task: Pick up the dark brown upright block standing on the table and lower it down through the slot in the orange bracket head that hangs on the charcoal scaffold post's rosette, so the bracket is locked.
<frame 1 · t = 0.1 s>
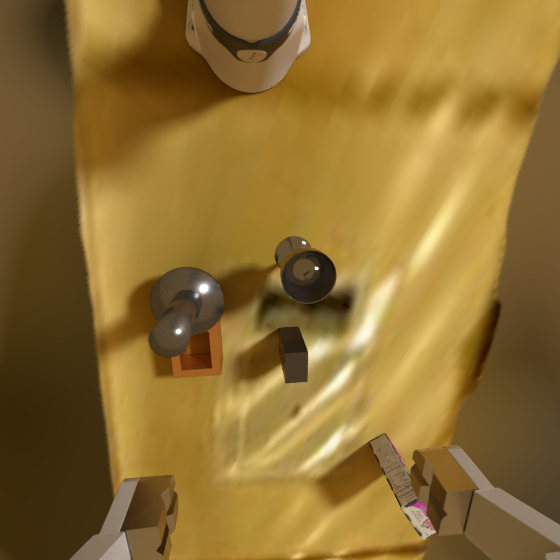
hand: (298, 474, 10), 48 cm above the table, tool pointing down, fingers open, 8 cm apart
candy bar box: (385, 450, 75), on the table
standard: (194, 289, 57), on the table
dark brown upright block: (288, 340, 63), on the table
wine glass: (293, 254, 58), on the table
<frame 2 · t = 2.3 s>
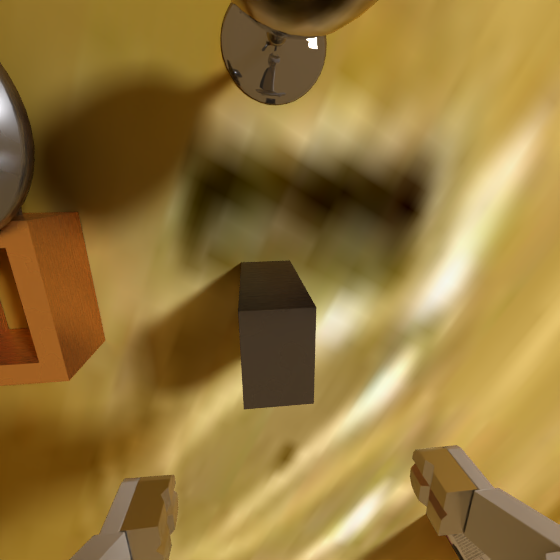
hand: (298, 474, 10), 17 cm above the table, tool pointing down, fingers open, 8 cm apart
candy bar box: (462, 523, 38), on the table
dark brown upright block: (266, 295, 26), on the table
wine glass: (274, 46, 21), on the table
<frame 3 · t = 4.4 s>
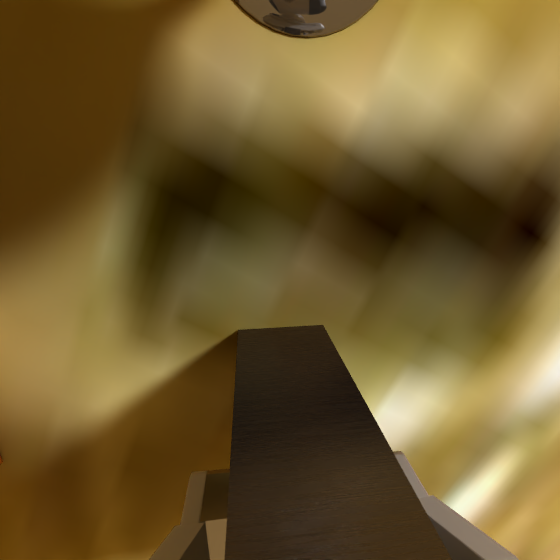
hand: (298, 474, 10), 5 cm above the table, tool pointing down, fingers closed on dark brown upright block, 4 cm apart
dark brown upright block: (281, 382, 15), on the table, touching gripper
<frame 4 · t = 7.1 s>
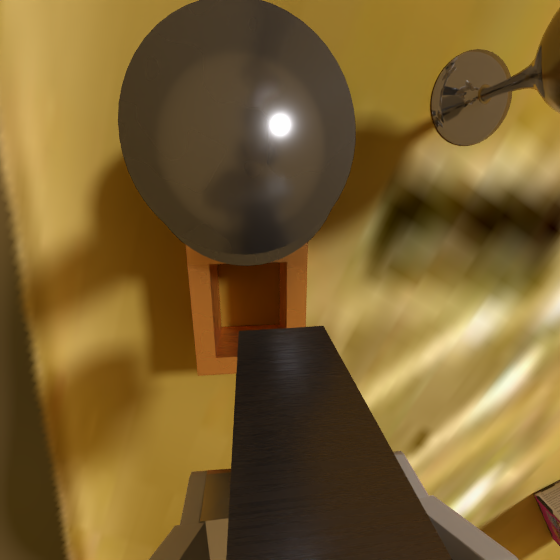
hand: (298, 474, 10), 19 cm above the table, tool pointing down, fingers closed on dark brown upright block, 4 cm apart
candy bar box: (556, 506, 43), on the table
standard: (245, 174, 25), on the table
dark brown upright block: (282, 382, 15), point 14 cm above the table, touching gripper
wine glass: (469, 100, 26), on the table
when the fingers open (7 cm above the table, at t = 10.2 s): dark brown upright block drops 1 cm, resting in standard.
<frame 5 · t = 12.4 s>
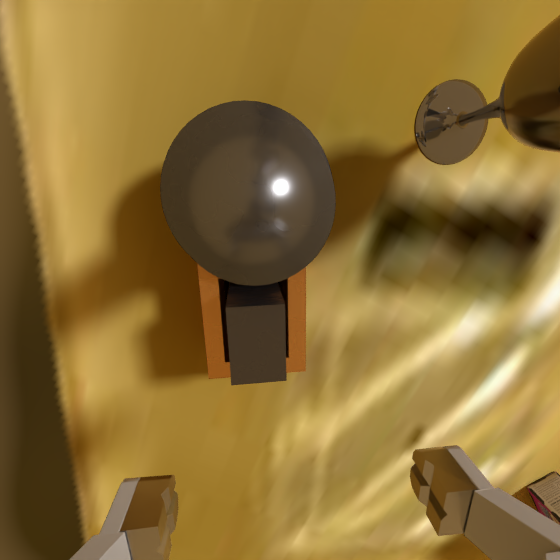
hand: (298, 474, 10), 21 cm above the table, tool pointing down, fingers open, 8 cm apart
candy bar box: (549, 498, 45), on the table
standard: (248, 195, 28), on the table
dark brown upright block: (253, 297, 31), resting in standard
wine glass: (450, 124, 28), on the table
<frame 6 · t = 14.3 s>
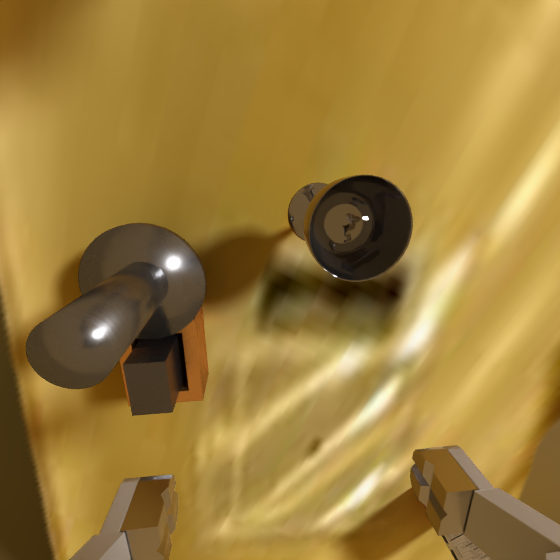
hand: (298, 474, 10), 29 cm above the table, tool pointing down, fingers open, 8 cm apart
candy bar box: (436, 496, 54), on the table
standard: (162, 267, 37), on the table
dark brown upright block: (172, 340, 40), resting in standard
wine glass: (316, 213, 37), on the table
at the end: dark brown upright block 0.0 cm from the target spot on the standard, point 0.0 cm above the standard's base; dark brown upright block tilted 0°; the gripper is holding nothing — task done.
